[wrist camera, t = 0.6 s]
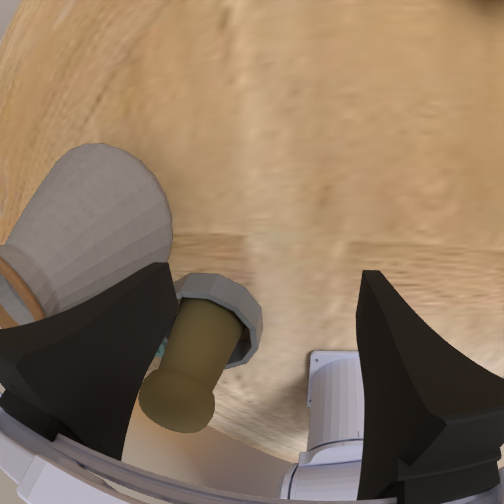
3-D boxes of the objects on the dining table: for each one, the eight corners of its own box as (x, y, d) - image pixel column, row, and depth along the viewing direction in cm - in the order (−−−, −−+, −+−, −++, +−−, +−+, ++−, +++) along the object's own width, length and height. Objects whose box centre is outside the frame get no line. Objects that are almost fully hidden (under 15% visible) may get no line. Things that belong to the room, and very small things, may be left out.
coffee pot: (176, 124, 19) (-24, 221, 6) (197, 272, 24) (106, 439, 12) (1, 163, 23) (-109, 230, 10) (30, 258, 28) (-55, 342, 16)
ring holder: (265, 351, 27) (260, 372, 25) (179, 343, 29) (170, 361, 27) (258, 275, 23) (252, 295, 21) (156, 271, 25) (143, 288, 23)
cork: (227, 348, 28) (193, 449, 19) (171, 316, 27) (119, 413, 18) (260, 311, 25) (229, 429, 16) (196, 273, 24) (135, 382, 15)
